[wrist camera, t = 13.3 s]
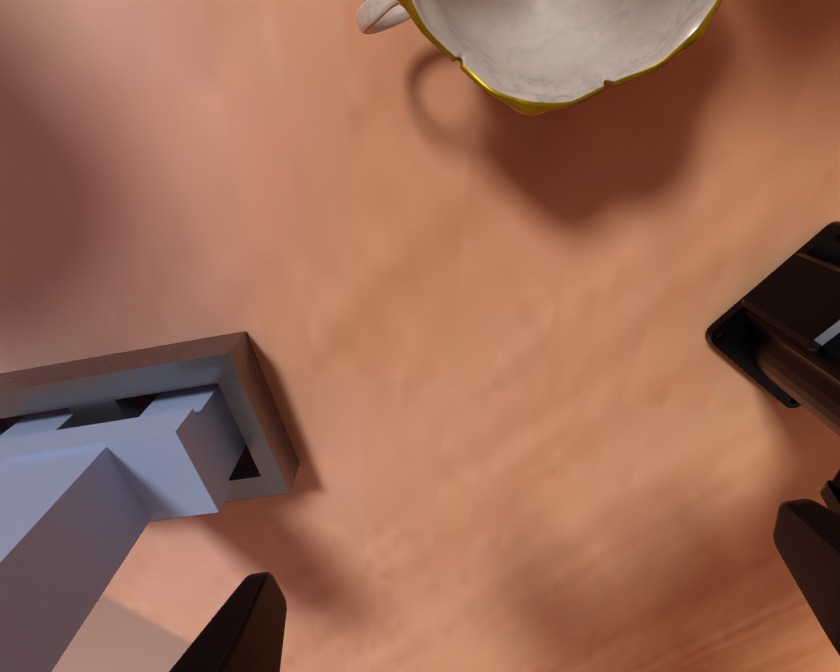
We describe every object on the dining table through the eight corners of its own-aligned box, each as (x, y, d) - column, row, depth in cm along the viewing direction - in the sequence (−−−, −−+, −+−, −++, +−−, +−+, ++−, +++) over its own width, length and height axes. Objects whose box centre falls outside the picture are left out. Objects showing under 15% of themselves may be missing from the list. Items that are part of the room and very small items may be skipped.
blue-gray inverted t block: (220, 370, 22) (-49, 731, 9) (253, 442, 24) (65, 820, 11) (29, 402, 23) (-449, 769, 10) (75, 469, 25) (-279, 845, 12)
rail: (245, 331, 21) (228, 352, 19) (299, 464, 24) (289, 493, 23) (-28, 379, 22) (-68, 403, 20) (61, 498, 26) (34, 528, 24)
